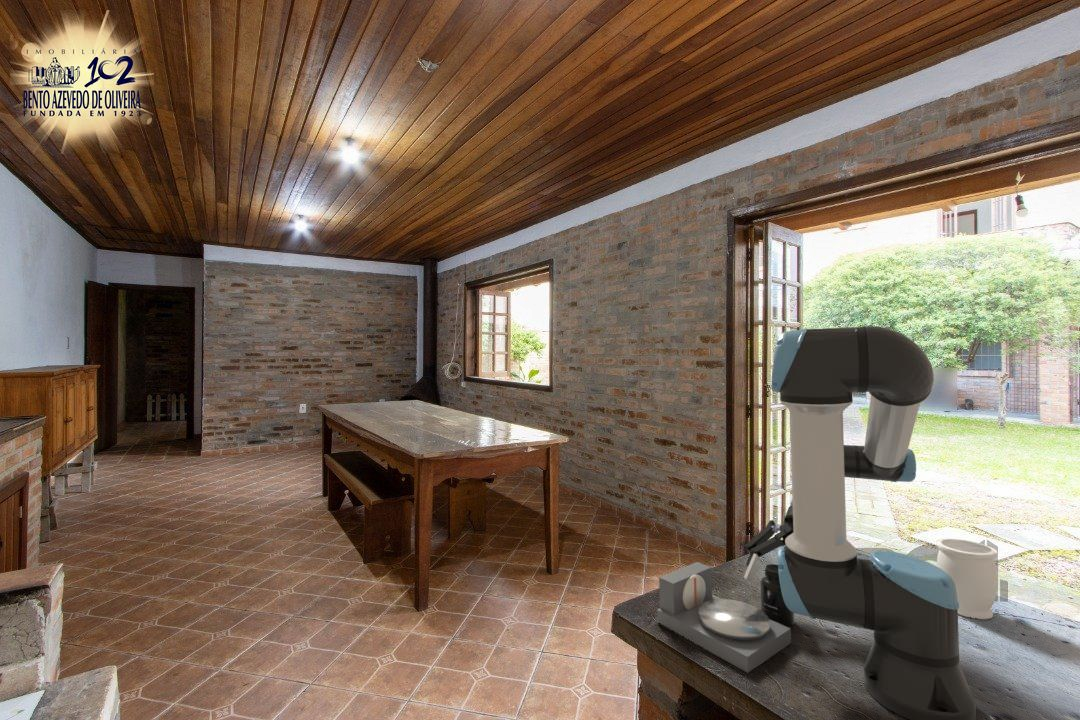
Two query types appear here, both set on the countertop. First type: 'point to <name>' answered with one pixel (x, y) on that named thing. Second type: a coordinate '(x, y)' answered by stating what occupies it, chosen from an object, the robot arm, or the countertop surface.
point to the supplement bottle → (774, 598)
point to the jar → (970, 575)
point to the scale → (681, 614)
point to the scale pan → (734, 619)
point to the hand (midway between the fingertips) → (775, 591)
